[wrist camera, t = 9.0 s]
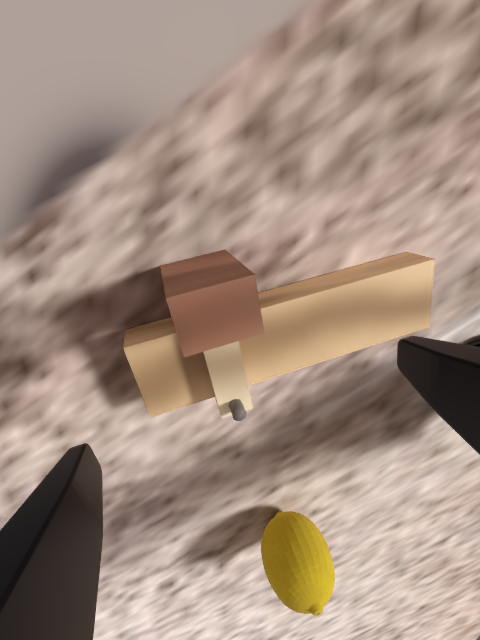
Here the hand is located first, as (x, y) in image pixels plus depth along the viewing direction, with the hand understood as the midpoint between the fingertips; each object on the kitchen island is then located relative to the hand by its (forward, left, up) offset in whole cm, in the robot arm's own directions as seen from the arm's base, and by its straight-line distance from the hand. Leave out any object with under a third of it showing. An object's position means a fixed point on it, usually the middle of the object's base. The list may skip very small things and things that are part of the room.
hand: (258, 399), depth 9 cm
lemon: (-24, -2, -13) cm, 27 cm away
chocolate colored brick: (-3, 0, -12) cm, 13 cm away
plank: (-4, -5, -12) cm, 14 cm away
